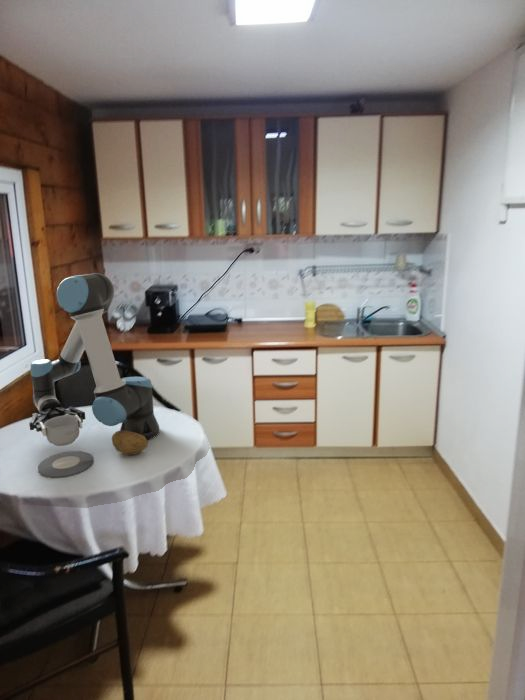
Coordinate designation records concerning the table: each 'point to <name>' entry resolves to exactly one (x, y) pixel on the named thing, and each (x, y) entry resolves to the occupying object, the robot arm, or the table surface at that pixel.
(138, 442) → the potato
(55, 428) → the teacup
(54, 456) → the saucer
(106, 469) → the table surface
